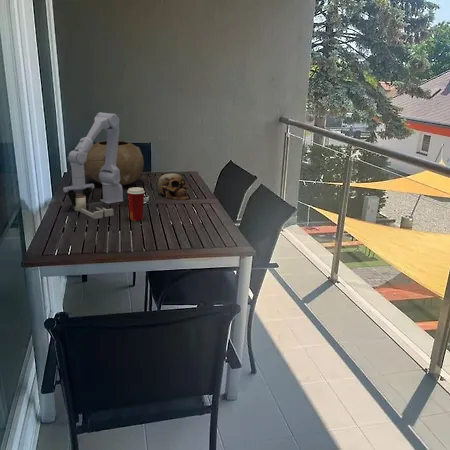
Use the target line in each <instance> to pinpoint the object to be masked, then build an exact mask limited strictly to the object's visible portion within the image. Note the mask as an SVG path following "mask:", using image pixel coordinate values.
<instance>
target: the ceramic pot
mask: <svg viewBox="0 0 450 450" xmlns="http://www.w3.org/2000/svg"><path fill="white" fill-rule="evenodd" d="M106 146H107V139H105V140H103V139H102V140H99V141H97V142H95V143H93V146H92V148H91V149H90V151H89V152H88V154H87V160H86V162H85V163H84V169H85V170H84V171H85V177H87V176H89V177H91V179H93V180H94V181H95V182H98V183H99V184H101V181H100V180H99V173H100V171H101V167H102V166H104V165H105V157H106ZM144 163H145V160H144V155H143V154H142V151H141V148H140V147H139V146H136V145H135V144H133V143H131V142H129V141H127V140H122V139H119V140H118V150H117V160H116V167H117V168H118V169H119V170H120V182H119V183H120V184H121V186H122V187H124V186H128V185H130V184H132V183H134V182H136V181H137V180H138V179H140V177H141V175H142V173H143V172H144Z"/></svg>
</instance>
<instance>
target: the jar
mask: <svg viewBox="0 0 450 450" xmlns="http://www.w3.org/2000/svg"><path fill="white" fill-rule="evenodd" d="M75 200H76V206H73V209H74V211H75V212H81V211H80V209H85V210H87V204H86V196H85V194H83V193H76V199H75Z"/></svg>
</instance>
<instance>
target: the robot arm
mask: <svg viewBox="0 0 450 450" xmlns="http://www.w3.org/2000/svg"><path fill="white" fill-rule="evenodd" d="M102 130H105V131H106V133H107V136H106V140H107V146H106V157H105V165H104V166H102V167H101V171H100V173H99V180H100V181H101V183H100V184H101V185H102V199H99V202H102V203H104V204H106V205H110V204H114V203H115V204H116V203H120V202H121V203H122V202H124V201H125V200H124V197H123V196H124V194H123V193H124V191H123V186H121V184H120V183H119V182H120V170H119V169H118V168H117V167H116V160H117V150H118V140H120V139H119V136H120V118H119V116H118V115H117V114H116V113H110V112H109V113H108V112H100V111H99V112H98V113H96V116H95V117H94V122H93V124H92V126H91V128H90V129H89V130H88V133H87V134H86V136H85V137H82V138H80V140H79V142H78V144H77V145H76V146H75V148H74V150H71V151H70V152H69V153H68V156H67V160H68V162H69V163H70V166H71V169H70V170H71V179H72V180H71V183H72V185H69V186H64V187H63V189H62V190H63V192H64V193H66V194H67V195H68V198H69V199H70V203H71V205H72V206H73V207H74V206H76V200H75V199H76V194H77V192H75V191H81V190H82V194H85V196H86V205H89V200H90V195H91V194H92V192H93V189H95V184H94V183H86V175H85V171H86V170H85V162H86V160H87V154H88V152H89V151H90V149H91V148H92V146H93V145H94V140H95V139H96V137H97V136H98V135H99V134H100V133H101V131H102Z"/></svg>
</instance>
